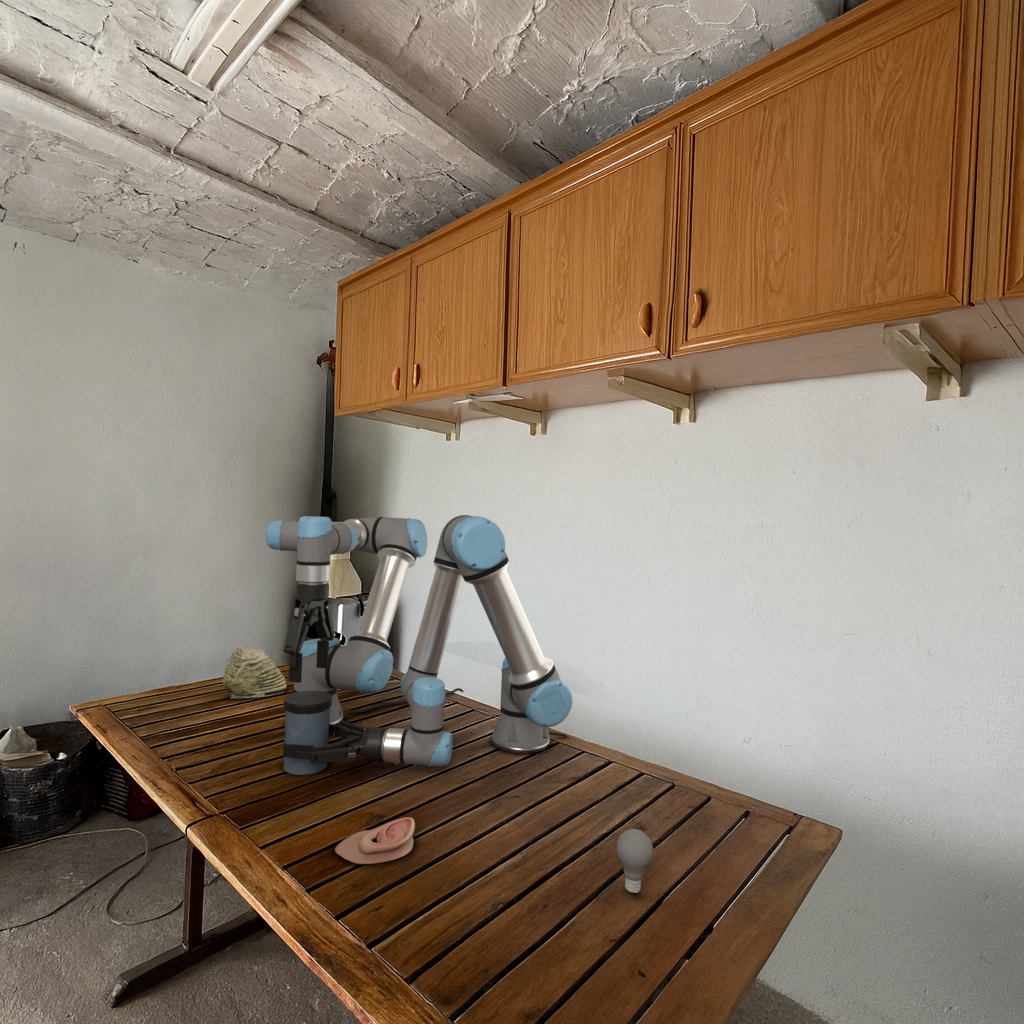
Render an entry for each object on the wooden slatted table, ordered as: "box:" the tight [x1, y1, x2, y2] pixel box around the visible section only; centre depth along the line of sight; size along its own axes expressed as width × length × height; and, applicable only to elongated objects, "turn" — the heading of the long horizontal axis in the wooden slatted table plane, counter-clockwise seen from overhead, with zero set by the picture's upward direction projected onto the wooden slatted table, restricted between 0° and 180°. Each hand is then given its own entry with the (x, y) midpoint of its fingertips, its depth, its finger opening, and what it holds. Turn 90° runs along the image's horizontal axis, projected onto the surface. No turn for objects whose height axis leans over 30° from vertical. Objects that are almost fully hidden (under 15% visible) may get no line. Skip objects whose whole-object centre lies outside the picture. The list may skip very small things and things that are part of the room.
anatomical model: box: [334, 816, 416, 865], centre depth 115 cm, size 13×4×12 cm
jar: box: [282, 708, 330, 776], centre depth 148 cm, size 10×10×16 cm
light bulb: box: [615, 828, 654, 894], centre depth 106 cm, size 6×6×10 cm
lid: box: [283, 691, 332, 714], centre depth 148 cm, size 11×11×2 cm
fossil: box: [222, 646, 288, 699], centre depth 198 cm, size 9×18×15 cm, turn 132°
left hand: (309, 674), depth 148 cm, fingers open, 12 cm apart
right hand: (295, 738), depth 148 cm, fingers open, 13 cm apart
